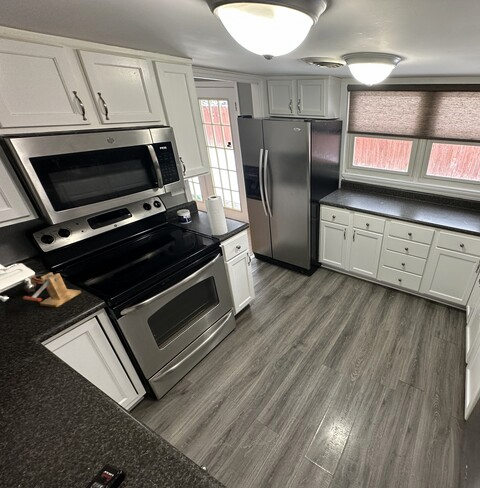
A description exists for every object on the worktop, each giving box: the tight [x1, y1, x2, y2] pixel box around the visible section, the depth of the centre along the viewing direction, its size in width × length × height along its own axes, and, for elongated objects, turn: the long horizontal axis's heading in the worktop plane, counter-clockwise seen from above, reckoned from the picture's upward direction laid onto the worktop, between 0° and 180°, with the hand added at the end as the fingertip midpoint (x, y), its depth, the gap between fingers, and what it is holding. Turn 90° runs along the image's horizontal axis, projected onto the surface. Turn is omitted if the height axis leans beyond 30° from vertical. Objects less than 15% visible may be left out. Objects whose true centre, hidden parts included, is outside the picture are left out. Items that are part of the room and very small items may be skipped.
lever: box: [22, 274, 54, 302], centre depth 123 cm, size 13×8×2 cm, turn 172°
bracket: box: [39, 272, 82, 308], centre depth 128 cm, size 12×9×14 cm
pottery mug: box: [23, 273, 45, 293], centre depth 136 cm, size 12×10×8 cm
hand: (19, 293), depth 119 cm, fingers open, 8 cm apart
